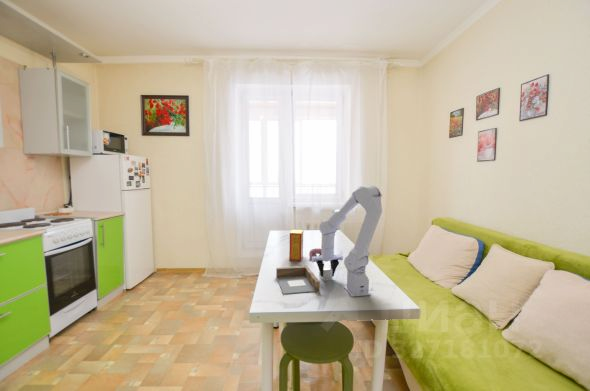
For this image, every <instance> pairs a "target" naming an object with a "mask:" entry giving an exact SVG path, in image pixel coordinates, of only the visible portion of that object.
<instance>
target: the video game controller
mask: <svg viewBox="0 0 590 391" xmlns="http://www.w3.org/2000/svg"><path fill="white" fill-rule="evenodd" d="M317 254H318V255H317ZM320 255H321V248H319V247H317V248H312V249H311V250H309V260H310V261H312V257H314V256H320Z"/></svg>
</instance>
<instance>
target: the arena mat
mask: <svg viewBox="0 0 590 391" xmlns="http://www.w3.org/2000/svg"><path fill="white" fill-rule="evenodd" d="M276 279H277V282H278V285H279V287H280V290H281V291H282V292H281V293H282V295H292V294H293V295H294V294H301V293H302V294H303V293H305V294H307V293H313V292H314V293H316V292H315V290H314V288H313V287H312V285H311V284H310V282H309V281H308V279H307V278H306V276H293V277H279V278H277V277H276Z"/></svg>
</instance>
